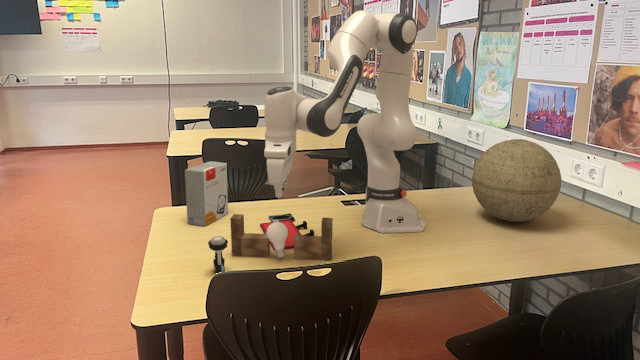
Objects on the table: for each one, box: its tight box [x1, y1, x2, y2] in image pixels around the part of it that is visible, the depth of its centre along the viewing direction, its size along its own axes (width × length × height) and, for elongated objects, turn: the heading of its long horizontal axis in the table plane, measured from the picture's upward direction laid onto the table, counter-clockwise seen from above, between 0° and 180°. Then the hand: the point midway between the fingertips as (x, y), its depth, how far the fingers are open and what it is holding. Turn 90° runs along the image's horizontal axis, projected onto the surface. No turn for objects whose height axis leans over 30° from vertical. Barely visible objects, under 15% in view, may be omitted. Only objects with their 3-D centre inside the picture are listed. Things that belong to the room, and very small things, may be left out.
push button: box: [207, 235, 229, 274], centre depth 135 cm, size 7×5×10 cm
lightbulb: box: [267, 222, 288, 259], centre depth 143 cm, size 6×6×11 cm
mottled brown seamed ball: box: [471, 138, 562, 223], centre depth 175 cm, size 30×30×30 cm
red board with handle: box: [259, 213, 315, 252], centre depth 165 cm, size 30×3×15 cm
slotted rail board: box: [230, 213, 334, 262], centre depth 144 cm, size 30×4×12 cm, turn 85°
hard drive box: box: [184, 160, 229, 227], centre depth 174 cm, size 16×8×20 cm, turn 158°
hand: (281, 191), depth 141 cm, fingers open, 8 cm apart
